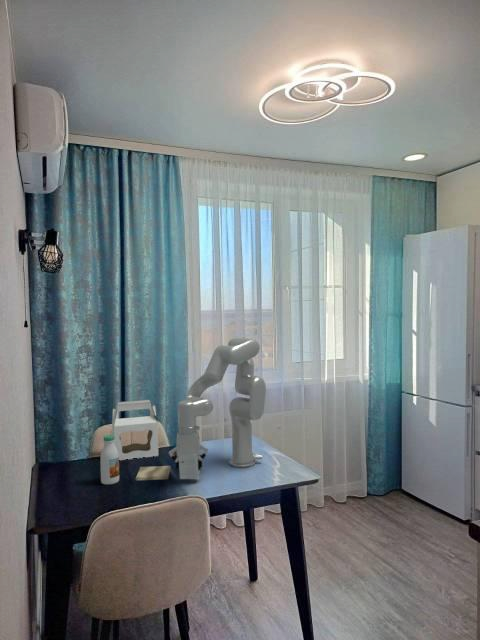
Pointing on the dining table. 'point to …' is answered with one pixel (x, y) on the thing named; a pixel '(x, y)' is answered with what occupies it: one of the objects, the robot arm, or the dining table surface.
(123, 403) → the gable box
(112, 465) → the milk bottle
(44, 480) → the dining table surface
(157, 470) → the oak board
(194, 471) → the small box
